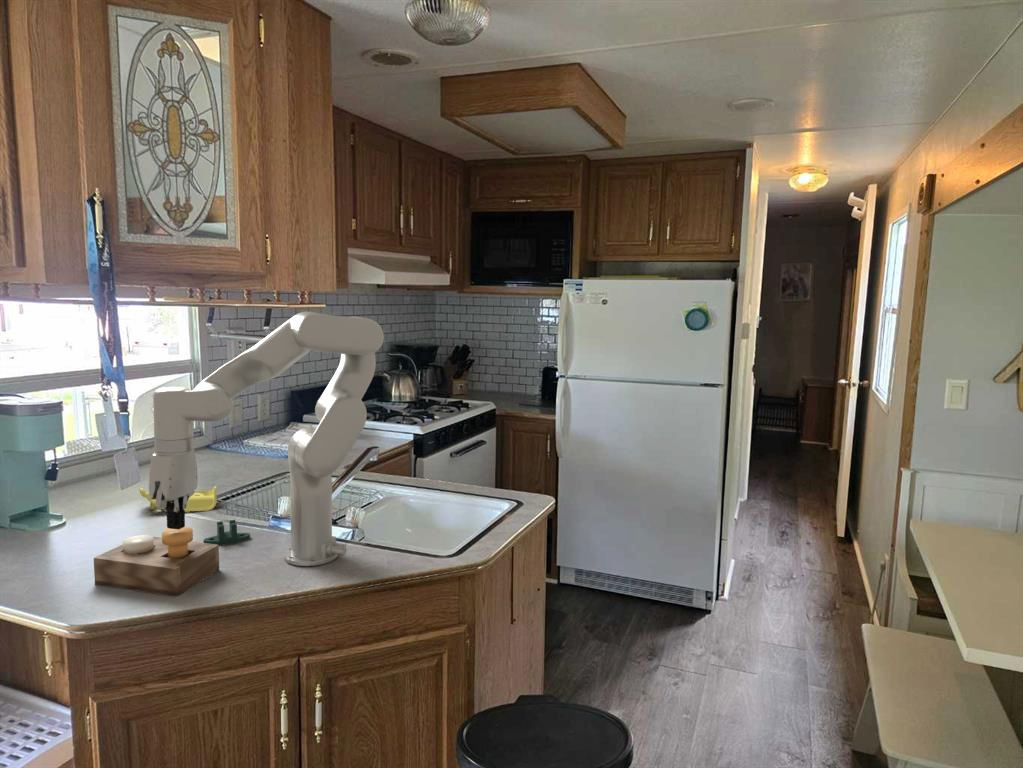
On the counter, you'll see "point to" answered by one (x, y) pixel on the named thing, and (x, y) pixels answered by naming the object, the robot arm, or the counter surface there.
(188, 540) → the orange button
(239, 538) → the mount
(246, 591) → the counter surface
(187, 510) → the plastic component
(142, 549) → the cream button
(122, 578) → the wooden peg board
